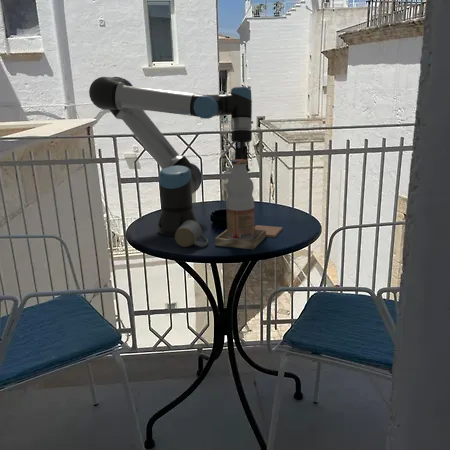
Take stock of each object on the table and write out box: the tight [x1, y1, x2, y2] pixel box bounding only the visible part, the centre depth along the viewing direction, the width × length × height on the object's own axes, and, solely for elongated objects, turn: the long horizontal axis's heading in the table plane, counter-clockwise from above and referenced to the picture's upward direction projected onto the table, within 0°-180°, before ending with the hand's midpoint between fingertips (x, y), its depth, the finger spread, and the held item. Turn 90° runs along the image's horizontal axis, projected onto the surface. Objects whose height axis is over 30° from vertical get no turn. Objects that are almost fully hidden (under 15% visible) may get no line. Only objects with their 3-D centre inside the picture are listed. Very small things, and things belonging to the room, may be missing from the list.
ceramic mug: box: [174, 220, 209, 248], centre depth 154 cm, size 11×8×8 cm
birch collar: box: [214, 229, 267, 250], centre depth 157 cm, size 14×14×2 cm
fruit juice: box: [225, 158, 256, 241], centre depth 153 cm, size 9×9×28 cm
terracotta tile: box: [255, 224, 283, 238], centre depth 166 cm, size 10×10×1 cm
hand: (241, 188), depth 170 cm, fingers open, 13 cm apart
